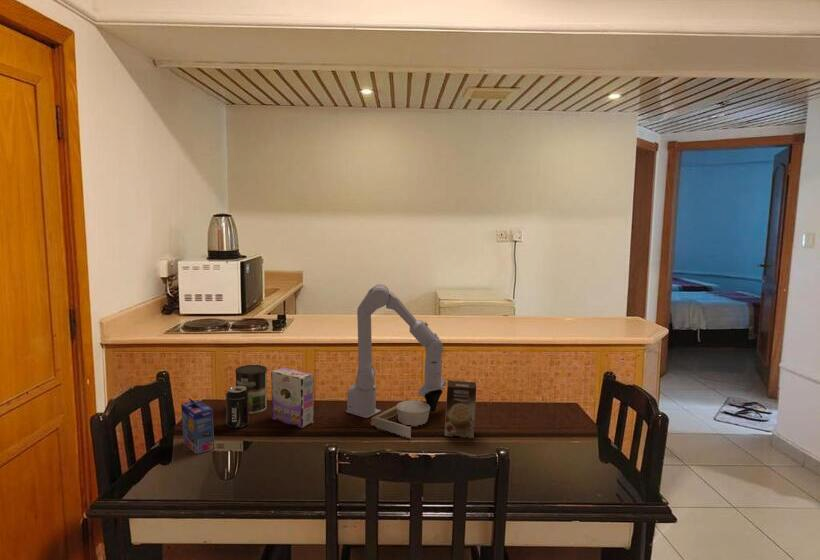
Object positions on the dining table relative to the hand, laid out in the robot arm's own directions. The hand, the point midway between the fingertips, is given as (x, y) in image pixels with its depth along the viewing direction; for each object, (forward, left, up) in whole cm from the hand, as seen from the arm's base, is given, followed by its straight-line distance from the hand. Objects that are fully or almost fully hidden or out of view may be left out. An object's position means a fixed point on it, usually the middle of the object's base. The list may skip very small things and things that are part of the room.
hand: (431, 410), depth 181 cm
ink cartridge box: (-40, -63, -1) cm, 75 cm away
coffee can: (-51, -34, -1) cm, 62 cm away
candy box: (-32, -33, -1) cm, 47 cm away
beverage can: (-43, -46, -1) cm, 64 cm away
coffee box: (+16, -8, -1) cm, 18 cm away
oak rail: (-9, -14, -1) cm, 17 cm away
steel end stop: (-1, -21, -1) cm, 21 cm away
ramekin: (-1, -9, -1) cm, 10 cm away
